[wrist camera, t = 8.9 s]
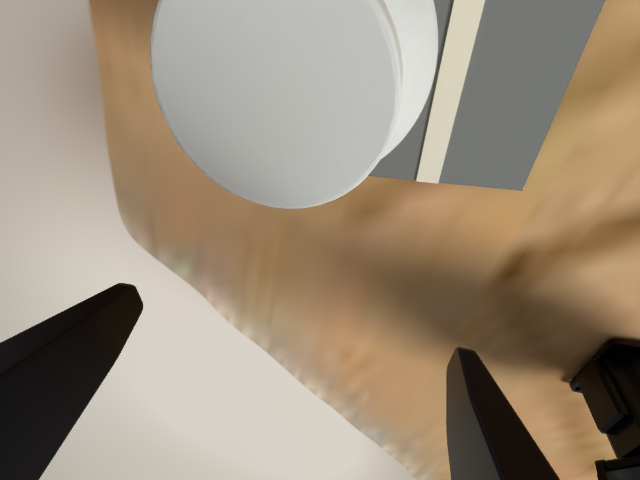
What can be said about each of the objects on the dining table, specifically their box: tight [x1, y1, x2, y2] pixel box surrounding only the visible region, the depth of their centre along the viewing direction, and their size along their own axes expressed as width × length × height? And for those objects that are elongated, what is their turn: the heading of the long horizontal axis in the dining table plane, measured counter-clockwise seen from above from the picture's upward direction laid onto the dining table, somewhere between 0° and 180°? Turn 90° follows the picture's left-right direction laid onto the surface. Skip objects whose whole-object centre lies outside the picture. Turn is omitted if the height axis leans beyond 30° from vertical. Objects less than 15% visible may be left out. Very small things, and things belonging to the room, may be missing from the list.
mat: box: [368, 0, 605, 191], centre depth 15 cm, size 16×14×1 cm
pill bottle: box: [150, 0, 438, 209], centre depth 11 cm, size 6×6×12 cm
